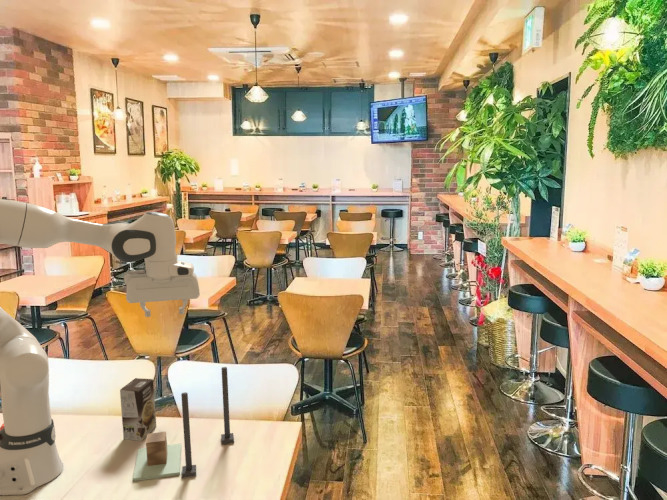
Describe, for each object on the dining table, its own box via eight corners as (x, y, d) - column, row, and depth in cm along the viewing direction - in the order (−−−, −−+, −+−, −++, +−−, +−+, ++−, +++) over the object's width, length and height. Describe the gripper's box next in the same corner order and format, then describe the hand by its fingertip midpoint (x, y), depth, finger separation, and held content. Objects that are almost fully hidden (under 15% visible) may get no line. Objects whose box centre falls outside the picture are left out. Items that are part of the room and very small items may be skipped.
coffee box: (142, 441, 169) (138, 391, 165) (122, 439, 170) (118, 389, 167) (157, 426, 177) (154, 378, 174) (138, 424, 179) (135, 377, 175)
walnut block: (147, 466, 154) (145, 442, 153) (149, 456, 159) (147, 433, 158) (166, 463, 155) (165, 440, 154) (167, 453, 160) (166, 431, 159)
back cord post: (221, 444, 167) (218, 371, 162) (221, 438, 170) (217, 366, 166) (234, 442, 167) (230, 369, 163) (233, 436, 171) (230, 365, 166)
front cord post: (182, 477, 150) (177, 397, 146) (182, 470, 154) (177, 391, 149) (196, 476, 151) (191, 396, 146) (196, 468, 154) (191, 390, 150)
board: (133, 481, 149) (132, 478, 149) (138, 451, 163) (138, 448, 163) (179, 474, 152) (179, 472, 151) (181, 445, 166) (181, 443, 166)
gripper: (121, 273, 154) (125, 321, 157) (198, 268, 159) (200, 315, 162) (124, 268, 160) (128, 314, 163) (198, 264, 165) (200, 309, 168)
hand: (165, 314), depth 162 cm, fingers open, 8 cm apart
